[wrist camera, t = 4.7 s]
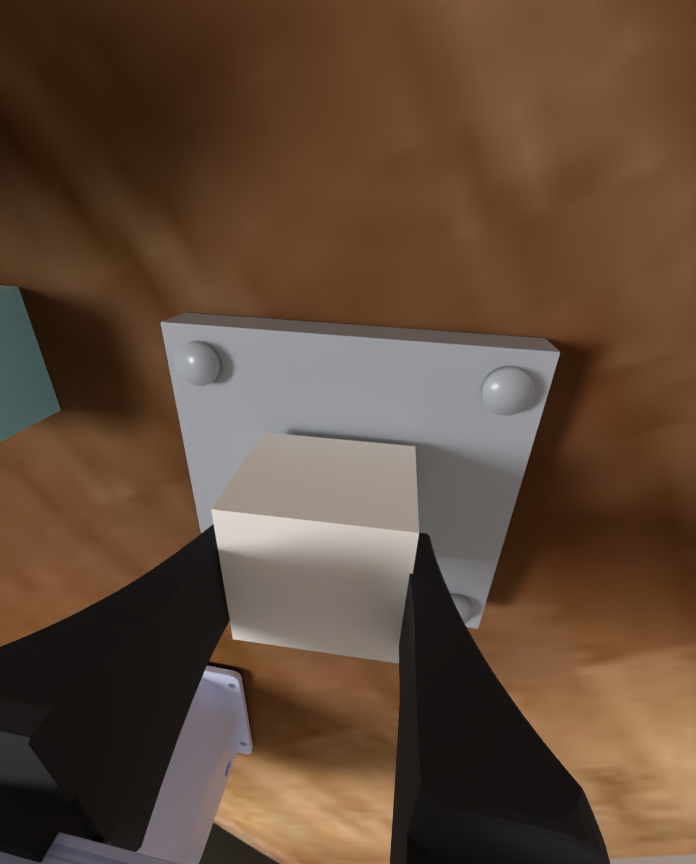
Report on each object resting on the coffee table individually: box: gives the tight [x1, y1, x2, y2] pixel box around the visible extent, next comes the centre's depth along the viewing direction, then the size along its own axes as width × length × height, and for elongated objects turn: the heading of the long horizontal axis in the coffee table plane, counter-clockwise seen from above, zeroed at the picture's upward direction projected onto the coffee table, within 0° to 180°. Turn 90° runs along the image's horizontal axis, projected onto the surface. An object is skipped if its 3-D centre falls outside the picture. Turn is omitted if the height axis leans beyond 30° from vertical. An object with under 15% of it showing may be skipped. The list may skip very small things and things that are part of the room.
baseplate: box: [161, 313, 560, 629], centre depth 15 cm, size 12×12×2 cm
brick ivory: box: [211, 432, 419, 663], centre depth 12 cm, size 5×5×4 cm
